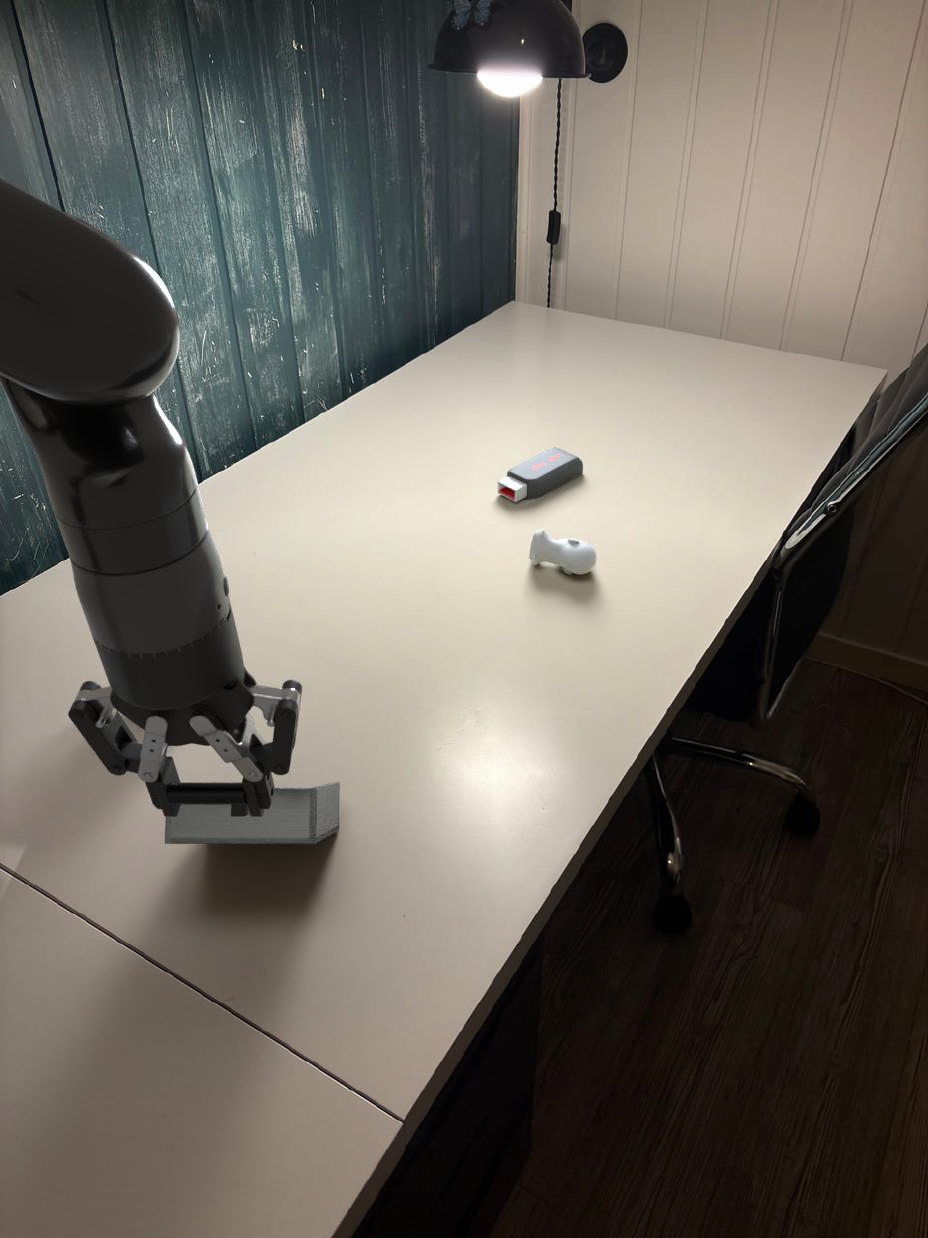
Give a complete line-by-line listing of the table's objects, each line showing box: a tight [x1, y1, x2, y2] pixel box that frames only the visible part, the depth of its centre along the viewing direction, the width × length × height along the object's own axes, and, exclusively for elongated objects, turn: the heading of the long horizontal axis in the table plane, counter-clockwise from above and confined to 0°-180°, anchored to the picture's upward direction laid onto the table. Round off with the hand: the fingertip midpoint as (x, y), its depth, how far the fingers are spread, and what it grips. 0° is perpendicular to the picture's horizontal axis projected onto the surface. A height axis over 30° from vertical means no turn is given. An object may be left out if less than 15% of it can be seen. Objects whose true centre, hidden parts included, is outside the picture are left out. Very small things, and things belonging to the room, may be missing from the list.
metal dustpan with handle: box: [164, 781, 341, 845], centre depth 68 cm, size 11×20×5 cm
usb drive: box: [497, 446, 584, 503], centre depth 121 cm, size 5×12×3 cm, turn 133°
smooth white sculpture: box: [528, 528, 597, 575], centre depth 106 cm, size 4×8×5 cm
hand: (217, 805), depth 61 cm, fingers closed on metal dustpan with handle, 5 cm apart
